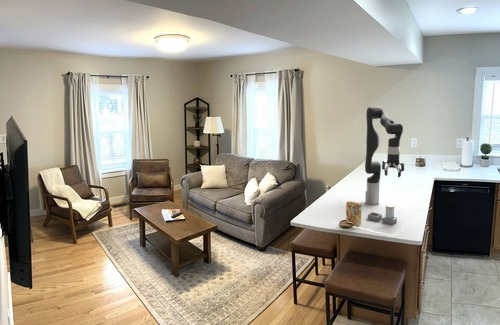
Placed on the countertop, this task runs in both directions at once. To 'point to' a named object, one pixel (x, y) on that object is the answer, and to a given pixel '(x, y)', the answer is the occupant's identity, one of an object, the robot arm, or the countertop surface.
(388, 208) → the plug
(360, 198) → the countertop surface
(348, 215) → the candy box
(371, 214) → the grey boxy piece
